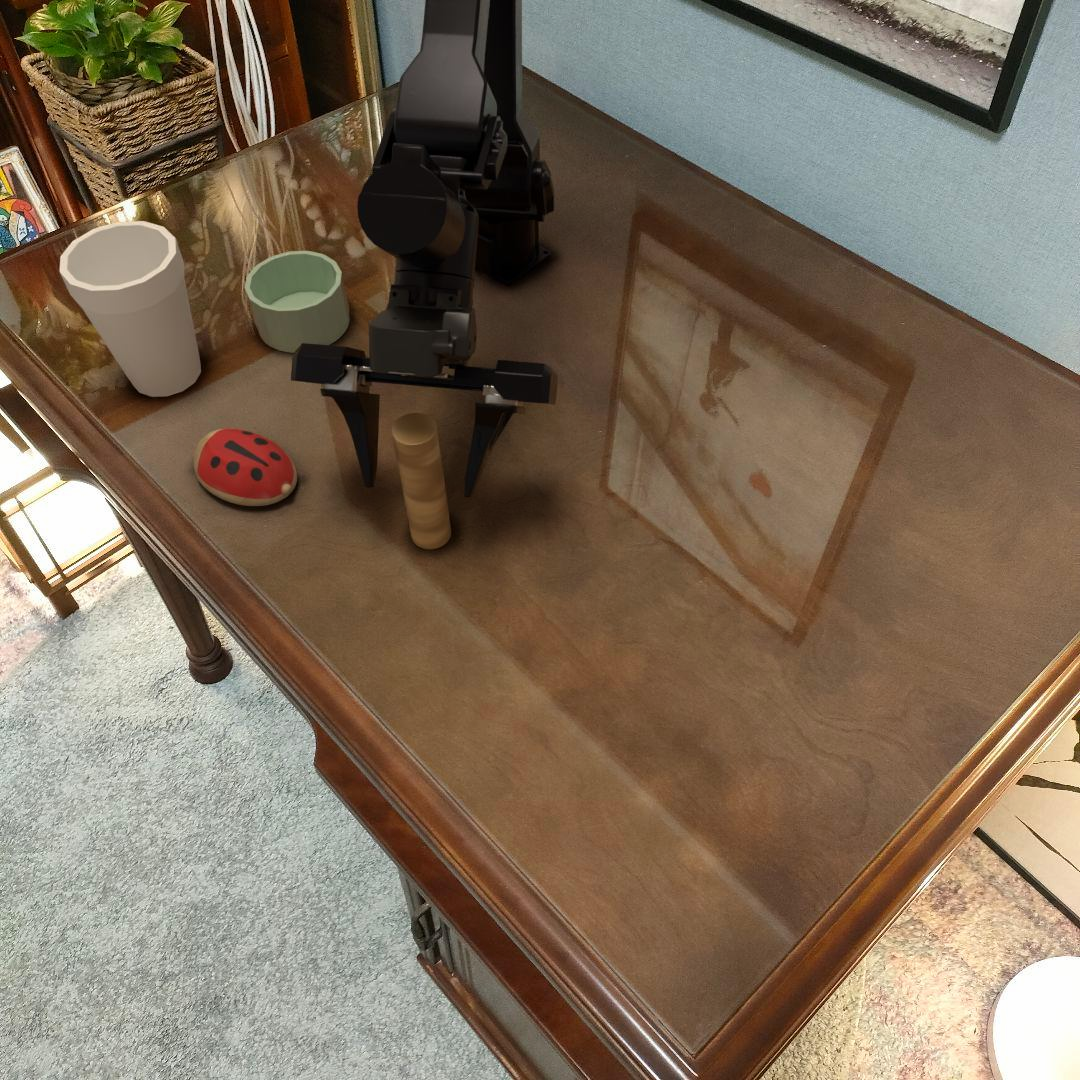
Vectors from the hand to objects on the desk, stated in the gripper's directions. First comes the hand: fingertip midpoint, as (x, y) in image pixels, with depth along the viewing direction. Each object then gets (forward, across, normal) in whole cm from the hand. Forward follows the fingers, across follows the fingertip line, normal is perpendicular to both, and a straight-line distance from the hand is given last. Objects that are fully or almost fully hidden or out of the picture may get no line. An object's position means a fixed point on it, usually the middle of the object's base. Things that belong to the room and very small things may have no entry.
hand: (418, 492), depth 76 cm
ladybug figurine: (+1, -17, +9) cm, 19 cm away
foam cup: (-7, -28, +17) cm, 34 cm away
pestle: (+4, 0, +6) cm, 7 cm away
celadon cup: (-13, -18, +23) cm, 32 cm away
